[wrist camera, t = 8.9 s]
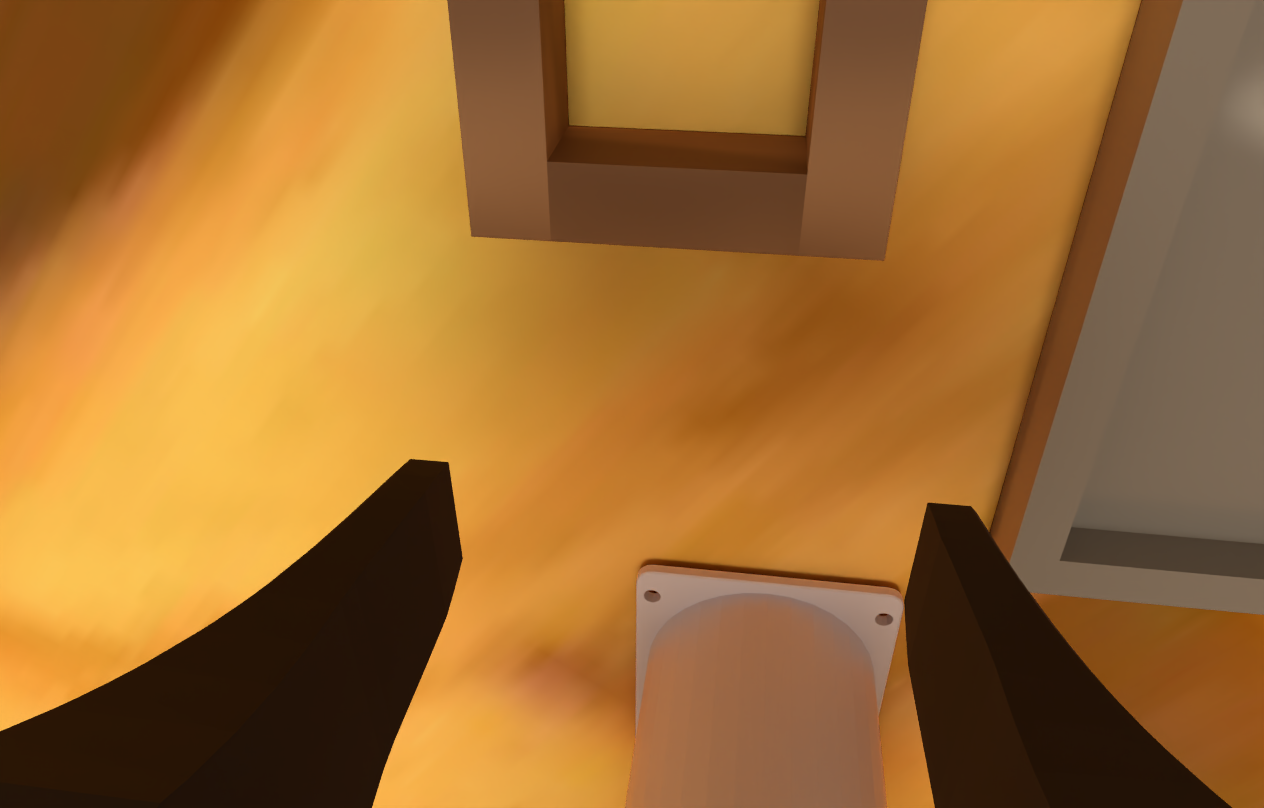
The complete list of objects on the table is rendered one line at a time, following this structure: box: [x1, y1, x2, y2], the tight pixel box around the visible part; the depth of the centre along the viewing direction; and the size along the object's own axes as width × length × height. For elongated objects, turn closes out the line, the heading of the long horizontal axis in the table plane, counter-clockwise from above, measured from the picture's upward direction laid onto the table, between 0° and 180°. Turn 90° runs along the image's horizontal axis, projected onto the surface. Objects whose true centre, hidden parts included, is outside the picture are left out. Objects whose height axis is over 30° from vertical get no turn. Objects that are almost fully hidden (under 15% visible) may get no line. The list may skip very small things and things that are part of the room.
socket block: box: [447, 0, 927, 261], centre depth 19 cm, size 9×9×2 cm
